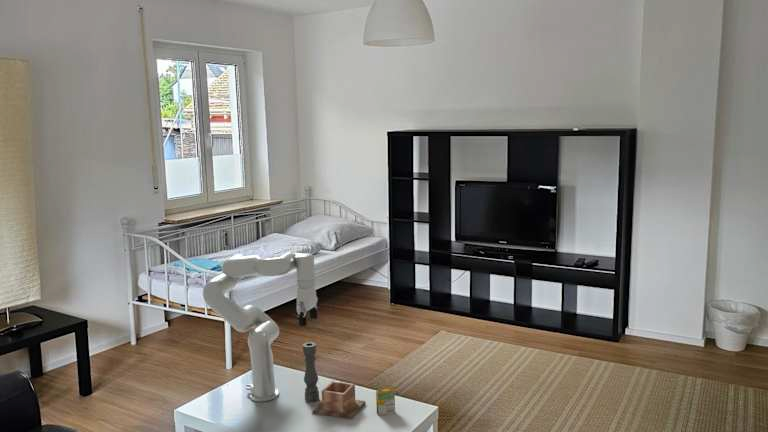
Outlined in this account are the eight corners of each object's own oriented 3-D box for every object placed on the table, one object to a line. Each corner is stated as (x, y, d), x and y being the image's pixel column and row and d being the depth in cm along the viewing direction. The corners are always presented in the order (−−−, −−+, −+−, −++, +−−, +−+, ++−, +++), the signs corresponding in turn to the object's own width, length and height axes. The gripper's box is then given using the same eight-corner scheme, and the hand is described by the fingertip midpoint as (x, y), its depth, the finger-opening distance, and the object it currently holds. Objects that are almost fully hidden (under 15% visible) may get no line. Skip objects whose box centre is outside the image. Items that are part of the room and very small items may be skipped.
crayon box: (393, 410, 263) (392, 383, 261) (395, 413, 260) (394, 386, 258) (376, 412, 261) (375, 386, 259) (378, 416, 258) (377, 389, 256)
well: (312, 413, 262) (311, 391, 260) (327, 398, 275) (326, 378, 273) (352, 419, 255) (351, 397, 254) (365, 404, 268) (364, 383, 267)
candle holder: (316, 403, 271) (314, 347, 267) (303, 402, 272) (300, 346, 268) (321, 396, 277) (318, 342, 273) (307, 395, 278) (304, 341, 274)
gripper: (307, 277, 275) (309, 314, 278) (288, 287, 259) (290, 327, 262) (323, 278, 272) (325, 316, 275) (304, 289, 257) (306, 329, 259)
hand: (308, 321), depth 269 cm, fingers open, 9 cm apart
